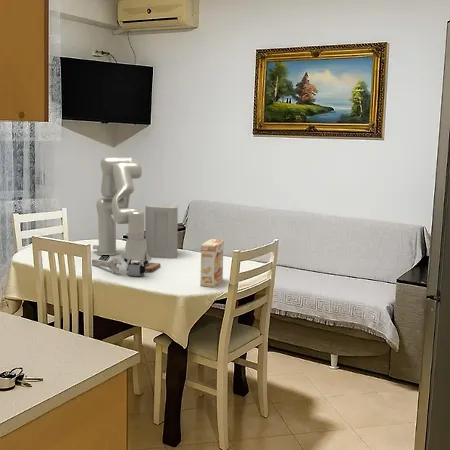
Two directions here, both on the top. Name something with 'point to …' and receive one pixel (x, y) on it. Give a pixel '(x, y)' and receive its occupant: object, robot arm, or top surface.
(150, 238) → the upright grey panel
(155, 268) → the shaft block
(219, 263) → the coffeecake box
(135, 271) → the grey slotted block
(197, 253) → the top surface
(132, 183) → the robot arm
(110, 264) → the wrench
